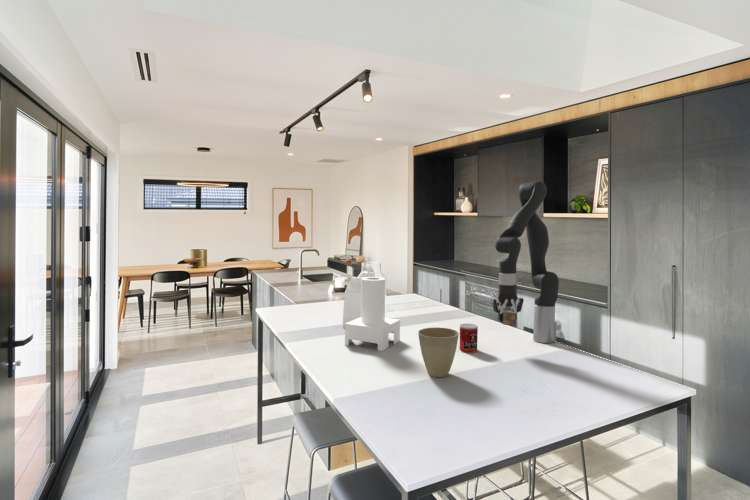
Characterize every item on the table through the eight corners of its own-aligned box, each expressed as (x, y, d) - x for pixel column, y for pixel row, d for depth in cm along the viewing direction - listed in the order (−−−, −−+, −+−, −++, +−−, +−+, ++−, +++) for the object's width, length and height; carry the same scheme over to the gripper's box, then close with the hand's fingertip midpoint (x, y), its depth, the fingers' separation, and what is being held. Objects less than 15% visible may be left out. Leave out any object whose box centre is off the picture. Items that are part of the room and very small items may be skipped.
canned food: (464, 353, 191) (465, 328, 190) (456, 348, 199) (456, 323, 198) (480, 352, 193) (481, 327, 192) (471, 346, 201) (472, 322, 200)
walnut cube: (510, 321, 197) (510, 310, 196) (515, 324, 192) (515, 312, 191) (499, 322, 196) (499, 310, 196) (504, 324, 191) (504, 313, 191)
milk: (342, 327, 234) (342, 278, 232) (350, 322, 245) (350, 275, 243) (364, 329, 231) (364, 279, 228) (370, 324, 242) (371, 276, 239)
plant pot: (453, 367, 174) (454, 326, 173) (461, 381, 159) (462, 337, 158) (415, 367, 174) (415, 327, 172) (420, 381, 159) (421, 337, 158)
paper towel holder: (344, 345, 203) (344, 279, 200) (365, 335, 219) (365, 274, 217) (381, 351, 194) (382, 282, 191) (399, 340, 210) (400, 277, 208)
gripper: (520, 281, 197) (519, 319, 198) (488, 282, 196) (488, 320, 197) (527, 283, 190) (526, 323, 191) (494, 285, 188) (494, 324, 190)
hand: (507, 321), depth 194 cm, fingers closed on walnut cube, 5 cm apart
